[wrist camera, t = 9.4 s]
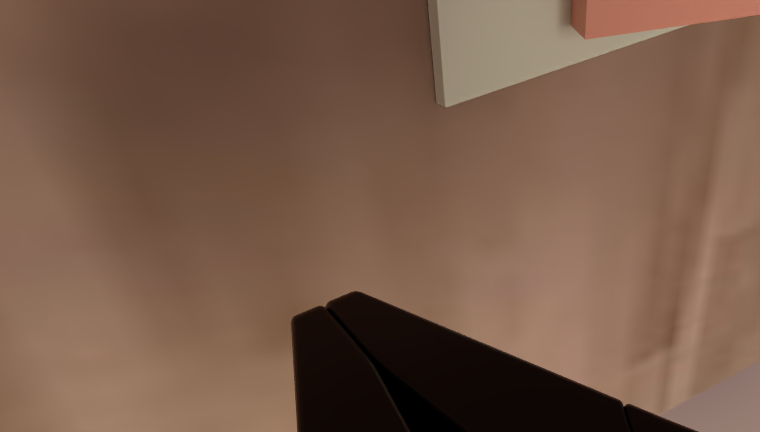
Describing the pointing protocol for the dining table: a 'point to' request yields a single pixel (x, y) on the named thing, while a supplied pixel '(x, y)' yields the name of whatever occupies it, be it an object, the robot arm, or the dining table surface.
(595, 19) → the domino
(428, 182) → the dining table surface
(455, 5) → the strip
